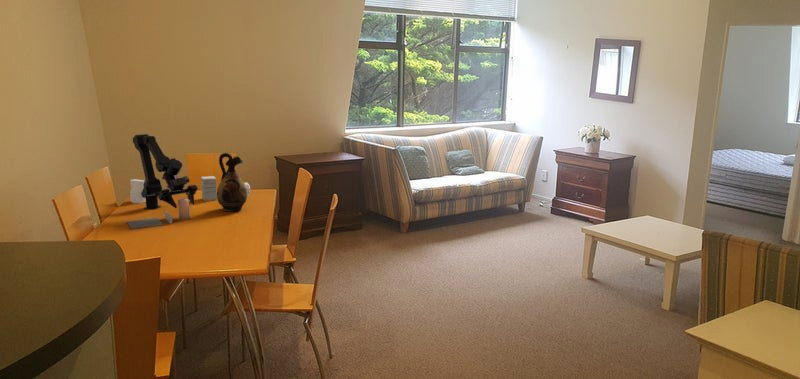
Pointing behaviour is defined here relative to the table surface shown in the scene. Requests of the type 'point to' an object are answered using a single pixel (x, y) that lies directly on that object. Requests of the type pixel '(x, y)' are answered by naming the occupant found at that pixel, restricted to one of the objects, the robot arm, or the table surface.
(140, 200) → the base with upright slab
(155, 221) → the mat
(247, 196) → the penguin figurine
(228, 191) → the ceramic jug
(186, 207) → the pale pink tall block
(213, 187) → the supplement box
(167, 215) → the low divider
